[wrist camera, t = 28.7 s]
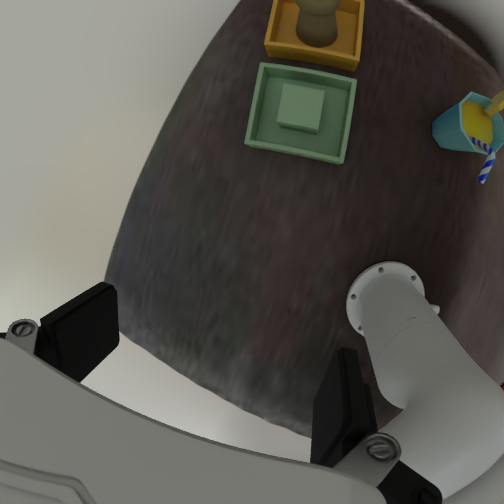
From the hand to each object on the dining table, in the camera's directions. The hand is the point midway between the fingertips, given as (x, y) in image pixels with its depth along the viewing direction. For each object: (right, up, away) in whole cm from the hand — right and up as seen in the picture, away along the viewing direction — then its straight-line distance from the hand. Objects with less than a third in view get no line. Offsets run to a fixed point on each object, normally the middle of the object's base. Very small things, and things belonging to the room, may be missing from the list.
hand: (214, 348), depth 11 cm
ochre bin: (+11, +35, +20) cm, 42 cm away
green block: (+8, +22, +24) cm, 33 cm away
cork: (+11, +35, +20) cm, 42 cm away
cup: (+29, +20, +21) cm, 41 cm away
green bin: (+8, +22, +24) cm, 34 cm away
